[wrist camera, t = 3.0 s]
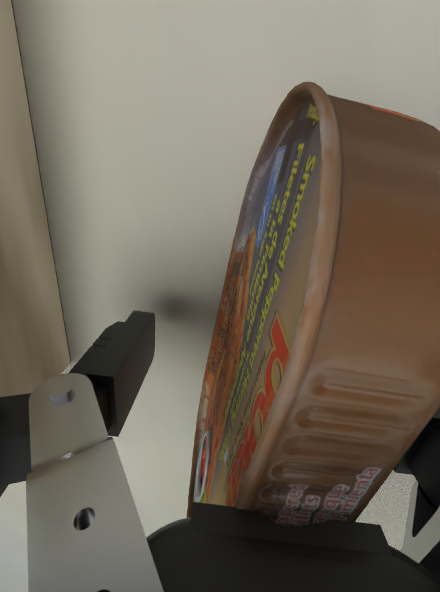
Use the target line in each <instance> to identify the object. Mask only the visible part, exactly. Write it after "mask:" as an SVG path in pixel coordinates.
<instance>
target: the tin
mask: <svg viewBox="0 0 440 592" xmlns="http://www.w3.org/2000/svg"><path fill="white" fill-rule="evenodd" d="M439 407H440V131H439V130H437V129H436V128H435V127H433V126H431V125H429V124H427V123H425V122H423V121H420V120H418V119H416V118H413V117H410V116H407V115H404V114H401V113H398V112H394V111H390V110H386V109H382V108H378V107H374V106H370V105H366V104H363V103H358V102H354V101H350V100H346V99H342V98H338V97H334V96H331V95H327V94H326V93H325V91H324V90H323V89H322V88H321V87H320V86H318V85H317V84H315V83H313V82H303V83H301V84H299V85H297V86H295V87H294V88H293V89H292V90H291V91H290V92H289V93H288V95H287V97H286V98H285V99H284V101H283V102H282V104H281V105H280V107H279V109H278V111H277V113H276V115H275V117H274V119H273V121H272V123H271V125H270V127H269V130H268V132H267V135H266V137H265V140H264V142H263V144H262V146H261V149H260V152H259V154H258V157H257V159H256V162H255V164H254V167H253V170H252V173H251V176H250V179H249V182H248V185H247V189H246V192H245V196H244V200H243V204H242V207H241V211H240V215H239V221H238V225H237V228H236V233H235V237H234V241H233V246H232V250H231V255H230V260H229V264H228V269H227V273H226V278H225V283H224V287H223V292H222V297H221V301H220V306H219V310H218V315H217V319H216V324H215V329H214V333H213V338H212V342H211V347H210V351H209V356H208V361H207V365H206V370H205V375H204V380H203V386H202V392H201V398H200V404H199V410H198V417H197V423H196V432H195V440H194V449H193V458H192V470H191V479H190V487H189V497H188V510H187V518H190V517H191V514H192V506H193V502H199V503H207V504H215V505H223V506H231V507H236V509H244V510H246V511H248V512H251V513H253V514H255V515H258V516H260V517H262V518H264V519H267V520H269V521H271V522H274V523H276V524H278V525H281V526H283V527H286V528H296V527H301V526H306V525H310V524H315V523H319V522H324V521H329V520H333V519H335V520H343V521H351V522H355V521H356V519H357V518H358V517H359V515H360V514H361V513H362V511H363V510H364V509H365V507H366V506H367V504H368V503H369V501H370V500H371V499H372V497H373V496H374V495H375V493H376V492H377V491H378V490H379V488H380V487H381V485H382V484H383V483H384V481H385V480H386V479H387V477H388V476H389V474H390V473H391V472H392V470H393V469H394V468H395V466H396V465H397V464H398V462H399V461H400V460H401V458H402V457H403V455H404V454H405V452H406V451H407V450H408V449H409V447H410V446H411V445H412V443H413V442H414V441H415V439H416V438H417V437H418V435H419V434H420V433H421V431H422V430H423V429H424V427H425V426H426V425H427V423H428V422H429V421H430V419H431V418H432V417H433V415H434V414H435V413H436V411H437V410H438V408H439Z"/></svg>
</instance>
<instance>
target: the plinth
mask: <svg viewBox="0 0 440 592" xmlns="http://www.w3.org/2000/svg"><path fill="white" fill-rule="evenodd" d="M69 364H70V356H69V350H68V344H67V338H66V332H65V326H64V320H63V314H62V308H61V302H60V296H59V289H58V283H57V277H56V271H55V265H54V259H53V253H52V247H51V241H50V235H49V228H48V222H47V216H46V210H45V204H44V198H43V192H42V186H41V180H40V174H39V168H38V161H37V155H36V149H35V143H34V137H33V131H32V125H31V119H30V113H29V107H28V101H27V94H26V88H25V82H24V76H23V70H22V64H21V58H20V52H19V46H18V40H17V34H16V27H15V21H14V15H13V9H12V3H11V0H0V397H4V396H12V395H21V394H28V393H32V392H33V390H34V389H35V388H36V387H37V386H38V385H40V384H41V383H42V382H44V381H46V380H47V379H49V378H52V377H54V376H57V375H60V374H61V373H62V372H63V371H64V370H65V368H66V367H67V366H68V365H69Z"/></svg>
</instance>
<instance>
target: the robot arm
mask: <svg viewBox="0 0 440 592" xmlns="http://www.w3.org/2000/svg"><path fill="white" fill-rule="evenodd" d="M154 351H155V315H154V313H151V312H142V311H133V312H132V313H131V315H130V316H129V317H128V319H127V320H126V321H125V322H116V323H115V324H113V325H111V326H109V327H107V328H106V329H105V330H104V332H103V333H102V334H101V335H100V336H99V339H97V340H96V341H95V342H94V343H93V346H91V347H90V348H89V349H88V350H87V352H86V353H85V354H84V355H83V356H82V358H81V359H80V360H79V361H78V362H77V363H76V365H75V366H74V367H73V368H72V369H71V371H70V372H69V373H67V374H61V375H57V376H54V377H52V378H49V379H47V380H46V381H44V382H42V383H41V384H40V385H38V386H37V387H36V388H35V389H34V390H33V392H32V393H28V394H21V395H12V396H4V397H0V497H1V495H2V494H3V492H4V491H5V489H6V488H7V486H8V485H9V484H12V483H17V482H22V481H26V501H27V542H28V583H29V592H440V407H439V408H438V410H437V411H436V413H435V414H434V415H433V417H432V418H431V419H430V421H429V422H428V423H427V425H426V426H425V427H424V429H423V430H422V431H421V433H420V434H419V435H418V437H417V438H416V439H415V441H414V442H413V443H412V445H411V446H410V447H409V449H408V450H407V451H406V452H405V454H404V455H403V457H402V458H401V460H400V461H399V462H398V464H397V465H396V466H395V468H394V469H393V470H394V471H395V472H396V473H404V474H412V475H414V476H415V478H416V482H415V483H414V485H413V486H412V490H411V496H410V503H409V510H408V516H407V523H406V530H405V537H404V543H403V547H402V550H401V552H400V551H399V550H397V549H395V548H393V547H391V546H389V545H388V543H387V541H386V538H385V536H384V533H383V531H382V528H381V526H380V525H375V524H367V523H359V522H351V521H343V520H335V519H333V520H329V521H324V522H319V523H315V524H310V525H306V526H301V527H296V528H286V527H283V526H281V525H278V524H276V523H274V522H271V521H269V520H267V519H264V518H262V517H260V516H258V515H255V514H253V513H251V512H248V511H246V510H244V509H236V507H231V506H223V505H215V504H207V503H199V502H193V506H192V514H191V517H190V518H186V519H181V520H178V521H175V522H172V523H170V524H168V525H166V526H164V527H162V528H160V529H158V530H157V531H155V532H154V533H152V534H151V535H149V536H148V537H147V538H146V536H145V533H144V530H143V527H142V524H141V521H140V518H139V515H138V512H137V509H136V506H135V503H134V500H133V497H132V494H131V491H130V488H129V485H128V482H127V479H126V476H125V473H124V470H123V466H122V463H121V460H120V457H119V454H118V451H117V448H116V445H115V443H114V440H113V438H112V437H109V436H116V437H118V436H119V434H120V432H121V430H122V427H123V425H124V423H125V421H126V418H127V416H128V414H129V412H130V410H131V407H132V405H133V403H134V401H135V398H136V396H137V394H138V392H139V389H140V387H141V385H142V383H143V381H144V378H145V376H146V374H147V372H148V369H149V367H150V365H151V363H152V360H153V356H154Z"/></svg>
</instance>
